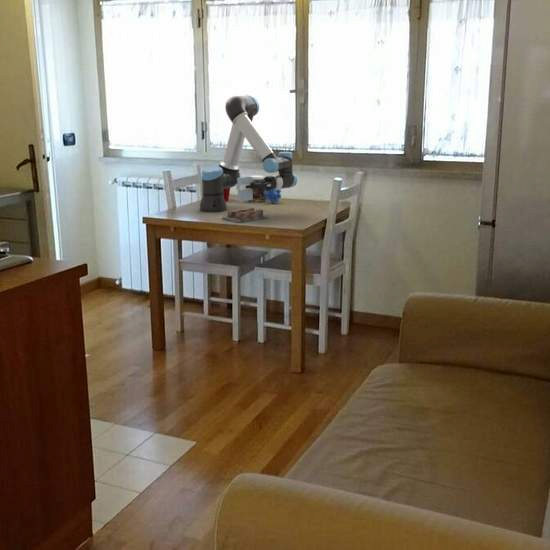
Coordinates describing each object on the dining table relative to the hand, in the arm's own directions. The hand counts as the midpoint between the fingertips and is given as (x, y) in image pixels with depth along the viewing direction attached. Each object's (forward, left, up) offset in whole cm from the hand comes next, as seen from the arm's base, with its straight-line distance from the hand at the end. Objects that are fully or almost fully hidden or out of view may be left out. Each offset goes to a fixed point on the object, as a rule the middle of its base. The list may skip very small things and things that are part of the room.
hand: (238, 187), depth 367 cm
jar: (-22, +56, -17) cm, 63 cm away
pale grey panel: (+2, +4, -7) cm, 9 cm away
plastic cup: (-41, +49, -17) cm, 66 cm away
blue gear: (-9, +53, -17) cm, 57 cm away
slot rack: (+1, +4, -17) cm, 18 cm away
